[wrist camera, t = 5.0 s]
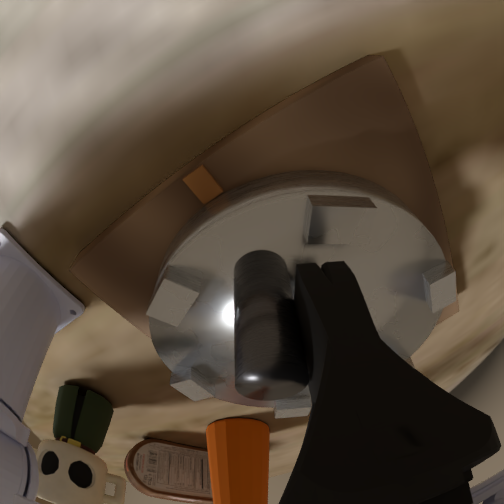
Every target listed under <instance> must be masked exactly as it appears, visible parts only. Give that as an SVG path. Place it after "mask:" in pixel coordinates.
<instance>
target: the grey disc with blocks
mask: <svg viewBox="0 0 504 504" xmlns="http://www.w3.org/2000/svg"><path fill="white" fill-rule="evenodd" d="M334 261H344V262H345V263H346V264H347V265H348V266H349V268H350V269H351V270H352V272H353V273H354V275H355V277H356V279H357V282H358V284H359V286H360V289H361V291H362V294H363V296H364V299H365V301H366V304H367V307H368V309H369V312H370V314H371V317H372V320H373V323H374V325H375V327H376V330H377V332H378V334H379V336H380V338H381V339H382V340H383V341H384V342H385V343H386V344H387V345H388V346H389V347H390V348H391V349H392V350H393V351H394V352H396V353H397V354H398V355H399V356H400V357H401V358H402V359H404V360H405V361H406V362H407V363H408V364H409V365H411V366H412V367H413V368H415V367H414V364H413V362H412V360H411V357H410V356H411V355H412V354H413V353H414V352H415V351H416V350H417V349H418V348H419V347H420V346H421V345H422V344H423V342H424V341H425V340H426V339H427V338H428V336H429V335H430V333H431V332H432V330H433V329H434V327H435V325H436V323H437V321H438V319H439V317H440V315H441V313H442V310H443V308H444V307H446V306H448V305H450V304H451V303H453V302H455V301H456V271H455V270H454V268H453V267H452V266H451V264H450V263H449V262H448V260H445V257H444V255H443V252H442V249H441V248H440V246H439V244H438V243H437V241H436V239H435V238H434V236H433V235H432V234H431V233H430V231H429V230H428V229H427V228H426V227H425V226H424V225H423V223H422V222H421V221H420V220H419V219H418V218H417V217H416V215H415V214H414V213H413V212H412V211H411V210H410V209H409V208H408V207H407V206H406V205H405V204H404V203H403V202H402V201H401V200H400V199H399V198H398V197H397V196H396V195H394V194H393V193H391V192H390V191H388V190H387V189H385V188H384V187H382V186H380V185H378V184H376V183H374V182H372V181H369V180H367V179H365V178H362V177H358V176H354V175H351V174H347V173H343V172H335V171H326V170H297V171H291V172H284V173H278V174H273V175H269V176H266V177H262V178H259V179H256V180H252V181H249V182H247V183H245V184H242V185H240V186H238V187H236V188H234V189H231V190H229V191H227V192H225V193H224V194H222V195H221V196H219V197H217V198H216V199H214V200H213V201H211V202H209V203H208V204H207V205H205V206H204V207H203V208H202V209H201V210H199V211H198V212H197V213H196V214H195V215H193V216H192V217H191V218H190V219H189V220H188V222H187V223H186V224H185V225H184V226H183V227H182V228H181V230H180V231H179V232H178V233H177V235H176V236H175V238H174V239H173V241H172V243H171V244H170V246H169V247H168V249H167V252H166V254H165V256H164V259H163V261H162V264H161V267H160V271H159V274H158V278H157V281H156V285H155V289H154V292H153V294H152V296H151V298H150V300H149V304H148V307H147V311H146V315H148V316H149V330H150V334H151V338H152V342H153V344H154V347H155V349H156V351H157V353H158V355H159V356H160V358H161V359H162V361H163V362H164V364H165V365H166V366H167V367H168V368H169V369H170V370H171V371H172V373H171V379H170V385H171V386H172V387H174V388H175V389H176V390H178V391H179V392H181V393H182V394H184V395H185V396H187V397H189V398H190V399H192V400H193V401H198V400H202V399H206V398H211V397H215V398H217V399H220V400H224V401H227V402H231V403H235V404H241V405H246V406H255V407H272V408H274V416H275V418H288V417H300V416H308V414H309V412H310V410H311V407H312V406H311V404H312V401H311V396H310V392H309V387H308V383H309V373H308V368H307V362H306V357H305V352H304V347H303V342H302V337H301V332H300V327H299V323H298V318H297V313H296V308H295V303H294V290H295V272H296V264H304V263H316V264H317V265H319V267H320V268H321V265H322V264H324V263H325V262H334Z"/></svg>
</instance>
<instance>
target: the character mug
mask: <svg viewBox="0 0 504 504" xmlns="http://www.w3.org/2000/svg"><path fill="white" fill-rule="evenodd" d="M78 389H79V387H77V386H72V385H64V386H61V387H59V392H58V396H57V401H56V407H55V415H54V423H53V433H54V437H55V438H56V439H55V440H50V439H45V440H43V441H42V442H41V443H40V444H39V447H38V450H37V449H35V448H33V447H32V448H33V450H34V452H35V455H36V459H37V463H38V471H39V487H38V492H37V497H39V498H42V499H44V500H47V501H49V502H52V503H54V504H104V503H107V504H124V499H125V489H126V481H125V479H124V478H123V477H121V476H117V475H113V474H109V473H107V471H108V469H107V466H106V463H105V462H104V461H103V460H102V459H101V458H99V457H98V456H96V455H95V453H97V452H98V450H99V449H100V448H101V447H102V444H103V442H104V439H105V436H106V433H107V430H108V427H109V425H110V421H111V418H112V415H113V412H114V411H113V408H112V405H111V403H110V402H108V401H107V400H106V399H105V398H103V397H102V396H100V395H98V394H96V393H94V392H92V391H90V390H87V393H86V396H81V395H77V394H78ZM106 482H109V483H114V484H115V485H116V486H115V495H114V496H110V495H106V494H105V486H106Z"/></svg>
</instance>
